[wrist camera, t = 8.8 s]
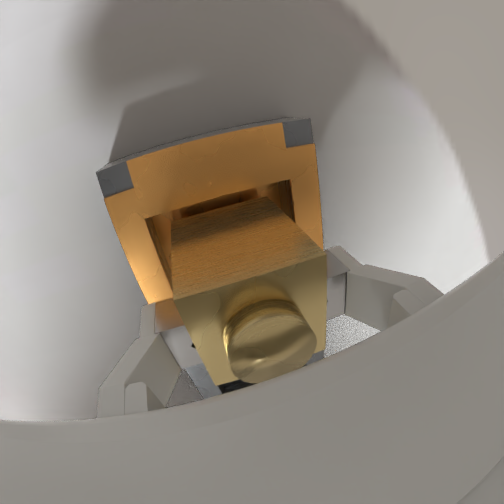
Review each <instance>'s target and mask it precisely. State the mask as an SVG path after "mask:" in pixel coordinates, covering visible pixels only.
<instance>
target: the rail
mask: <svg viewBox="0 0 504 504" xmlns="http://www.w3.org/2000/svg"><path fill="white" fill-rule="evenodd" d="M96 174H97V177H98V180H99V184H100V187H101V190H102V193H103V196H104V201H105V204H106V207H107V209H108V212H109V215H110V217H111V220H112V223H113V225H114V228H115V230H116V233H117V236H118V238H119V240H120V243H121V245H122V248H123V250H124V252H125V255H126V257H127V259H128V262H129V264H130V266H131V269H132V271H133V273H134V275H135V277H136V279H137V282H138V284H139V286H140V288H141V290H142V292H143V294H144V296H145V298H146V300H147V302H148V304H151V303H154V302H158V301H162V300H165V299H169V298H173V285H172V259H171V222H172V221H175V220H179V219H182V218H186V217H189V216H193V215H196V214H200V213H203V212H207V211H210V210H214V209H218V208H221V207H225V206H229V205H233V204H237V203H240V202H244V201H248V200H252V199H256V198H260V197H264V196H267V197H268V198H269V199H270V200H271V201H272V202H274V203H275V204H276V205H277V206H278V207H279V208H280V209H281V210H282V211H283V212H284V213H285V214H286V215H287V216H288V217H289V218H290V219H291V220H292V221H293V222H295V223H296V224H297V225H298V226H299V227H300V228H301V229H302V230H303V231H304V232H305V233H306V234H307V235H308V236H309V237H310V238H311V239H312V240H313V241H314V242H315V243H316V244H317V245H318V246H319V247H320V248H321V249H322V250H323V233H322V217H321V203H320V191H319V179H318V169H317V160H316V151H315V144H314V143H313V136H312V128H311V121H310V118H282V119H275V120H269V121H263V122H257V123H252V124H246V125H241V126H236V127H231V128H227V129H222V130H218V131H213V132H209V133H205V134H201V135H197V136H193V137H189V138H185V139H182V140H178V141H174V142H171V143H167V144H164V145H161V146H157V147H154V148H151V149H148V150H145V151H142V152H139V153H136V154H133V155H130V156H127V157H124V158H121V159H119V160H116V161H113V162H111V163H108V164H107V165H105V166H104V167H102V168H101V169H100V170H98V171H97V172H96ZM321 359H323V350H322V351H319V352H317V353H314V354H313V355H312V357H311V358H310V359H309V361H308V362H307V363H306V364H305V365H304V366H307V365H309V364H312V363H314V362H317V361H319V360H321ZM304 366H303V367H304ZM301 368H302V367H301ZM185 370H186V371H187V373H188V375H189V376H190V378H191V380H192V381H193V383H194V384H195V386H196V387H197V389H198V391H199V392H200V394H201V395H202V397H203V398H204V399H207V398H210V397H214V396H218V395H221V394H225V393H228V392H232V391H235V390H239V389H242V388H245V387H248V386H251V385H254V384H257V383H248V382H244V381H242V380H240V379H239V380H235V381H232V382H228V383H224V384H221V385H217V386H215V384H214V382H213V380H212V379H211V377H210V375H209V373H208V371H207V369H206V367H205V365H204V363H201V364H197V365H194V366H191V367H187V368H185Z"/></svg>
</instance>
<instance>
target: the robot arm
mask: <svg viewBox="0 0 504 504" xmlns="http://www.w3.org/2000/svg"><path fill="white" fill-rule="evenodd" d="M324 252H325V253H326V254H327V314H326V321H327V320H330V319H332V318H335V317H337V316H340V315H343V314H345V315H347V316H349V317H351V318H354V319H356V320H358V321H360V322H362V323H365V324H367V325H369V326H371V327H373V328H376V329H378V330H380V331H381V332H379V333H377V334H375V335H373V336H371V337H369V338H367V339H365V340H363V341H361V342H359V343H357V344H355V345H353V346H351V347H349V348H346V349H344V350H342V351H340V352H338V353H335V354H333V355H331V356H328V357H326V358H324V359H321V360H319V361H317V362H314V363H312V364H309V365H307V366H304V367H302V368H299V369H297V370H294V371H291V372H289V373H286V374H283V375H281V376H278V377H275V378H272V379H269V380H266V381H263V382H261V383H257V384H254V385H251V386H248V387H245V388H242V389H239V390H235V391H232V392H228V393H225V394H221V395H218V396H214V397H210V398H207V399H203V400H199V401H195V402H191V403H186V404H182V405H177V406H173V407H168V408H166V405H167V403H168V401H169V398H170V396H171V394H172V391H173V389H174V387H175V384H176V382H177V380H178V377H179V375H180V373H181V369H184V368H187V367H191V366H194V365H197V364H201V363H203V361H202V360H201V358H200V356H199V354H198V352H197V350H196V348H195V346H194V344H193V342H192V339H191V337H190V335H189V333H188V331H187V329H186V327H185V325H184V323H183V321H182V318H181V316H180V314H179V312H178V310H177V307H176V305H175V303H174V301H173V298H169V299H165V300H162V301H158V302H154V303H151V304H147V305H144V306H143V307H142V308H141V321H140V338H138V339H135V341H134V342H133V343H132V345H131V346H130V347H129V349H128V350H127V351H126V353H125V354H124V355H123V357H122V358H121V359H120V361H119V362H118V363H117V365H116V366H115V367H114V369H113V370H112V371H111V373H110V374H109V375H108V377H107V378H106V379H105V381H104V382H103V384H102V385H101V386H100V388H99V394H98V405H97V418H96V419H84V420H69V421H10V420H0V504H504V251H503V252H502V253H501V254H500V255H498V256H497V257H496V258H495V259H494V260H492V261H491V262H490V263H488V264H487V265H486V266H484V267H483V268H482V269H480V270H479V271H478V272H476V273H475V274H474V275H472V276H471V277H469V278H468V279H467V280H465V281H464V282H462V283H461V284H460V285H458V286H457V287H455V288H454V289H452V290H451V291H449V292H448V293H446V294H445V295H444V294H443V293H442V292H440V291H439V290H438V289H437V288H436V287H434V286H433V285H432V284H431V283H429V282H428V281H427V280H426V279H424V278H422V277H417V276H413V275H409V274H405V273H401V272H396V271H392V270H388V269H384V268H379V267H375V266H371V265H364V266H363V265H362V264H361V263H359V262H358V261H357V260H356V259H355V258H353V257H352V256H351V255H350V254H349V253H348V252H346V251H345V250H344V249H343V248H342V247H340V246H335V247H332V248H329V249H327V250H325V251H324Z"/></svg>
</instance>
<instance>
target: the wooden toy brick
mask: <svg viewBox="0 0 504 504" xmlns="http://www.w3.org/2000/svg"><path fill="white" fill-rule="evenodd" d="M171 259H172V285H173V301H174V303H175V305H176V307H177V310H178V312H179V314H180V316H181V318H182V321H183V323H184V325H185V327H186V329H187V331H188V333H189V335H190V337H191V339H192V342H193V344H194V346H195V348H196V350H197V352H198V354H199V356H200V358H201V360H202V361H203V363H204V365H205V367H206V369H207V371H208V373H209V375H210V377H211V379H212V380H213V382H214V384H215V386H217V385H221V384H224V383H228V382H232V381H235V380H239V379H240V380H242V381H244V382H248V383H261V382H263V381H266V380H269V379H272V378H275V377H278V376H281V375H283V374H286V373H289V372H291V371H294V370H297V369H299V368H301V367H303V366H304V365H305V364H306V363H307V362H308V361H309V359H310V358H311V357H312V355H313V354H314V353H317V352H319V351H322V350H324V349H325V343H326V314H327V254H326V253H325V252H324V251H323V250H322V249H321V248H320V247H319V246H318V245H317V244H316V243H315V242H314V241H313V240H312V239H311V238H310V237H309V236H308V235H307V234H306V233H305V232H304V231H303V230H302V229H301V228H300V227H299V226H298V225H297V224H296V223H295V222H293V221H292V220H291V219H290V218H289V217H288V216H287V215H286V214H285V213H284V212H283V211H282V210H281V209H280V208H279V207H278V206H277V205H276V204H275V203H274V202H272V201H271V200H270V199H269V198H268V197H267V196H264V197H260V198H256V199H252V200H248V201H244V202H240V203H237V204H233V205H229V206H225V207H221V208H218V209H214V210H210V211H207V212H203V213H200V214H196V215H193V216H189V217H186V218H182V219H179V220H175V221H172V222H171Z"/></svg>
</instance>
